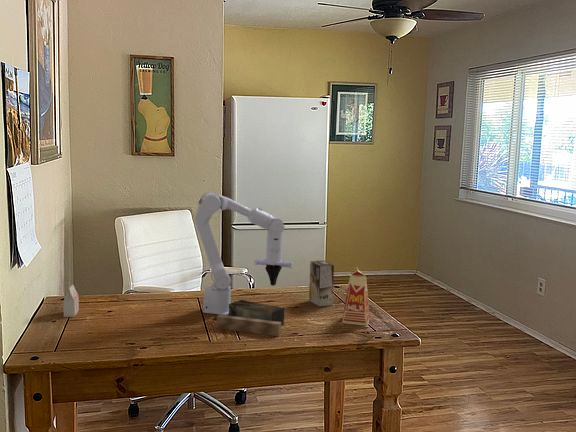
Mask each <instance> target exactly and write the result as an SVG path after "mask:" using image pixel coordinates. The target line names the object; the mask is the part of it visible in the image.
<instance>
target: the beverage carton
mask: <svg viewBox="0 0 576 432" xmlns="http://www.w3.org/2000/svg"><path fill="white" fill-rule="evenodd" d="M285 311H286V309H285V307H280V306H277V305H270V304H265V303H259V302H255V301H249V300H246V299H245V300H244V299H239V300H237V301H232V302H230V304H229V314H228V316H235V317H244V318H252V319H260V320H268V321H276V322H281V326H283V325H285V313H286V312H285Z"/></svg>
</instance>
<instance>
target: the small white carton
mask: <svg viewBox="0 0 576 432" xmlns="http://www.w3.org/2000/svg"><path fill="white" fill-rule="evenodd" d="M62 305H63V308H62V309H63V318H75V317H76V315H78V313H79V311H80V310H79V309H80V306H79V305H80V304H79V293H78V292H77V290H76V287H75V286H74V284H71V285H70V286H69V287H68V289H67V292H66V294H65V297H64V298H63V302H62Z"/></svg>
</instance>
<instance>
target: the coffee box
mask: <svg viewBox="0 0 576 432" xmlns="http://www.w3.org/2000/svg"><path fill="white" fill-rule="evenodd" d="M334 274H335V264H332V263H331V262H328V261H327V260H326V261H325V260H314V261H312V260H311V261H310V262H309V291H308V292H309V297H308V298H309V299H308V301H309V302H311V303H312V304H314V305H316V306H318V307H326V306H327V307H328V306H333V302H334V300H333V299H334V276H335V275H334Z"/></svg>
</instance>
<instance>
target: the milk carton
mask: <svg viewBox="0 0 576 432" xmlns="http://www.w3.org/2000/svg"><path fill="white" fill-rule="evenodd" d="M347 283H348V284H347V288H346V292H345V293H346V294H345V300H344V308H343V315H342V321H341V324H349V325H358V326H367V327H368V326H369V322H370V308H369V307H370V305H369V293H368V283H367V275H365V274H364V273H363V272H361V270H359V267H356V271H354V272H353V273H351V274H350V275H349V280H348V282H347Z"/></svg>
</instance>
